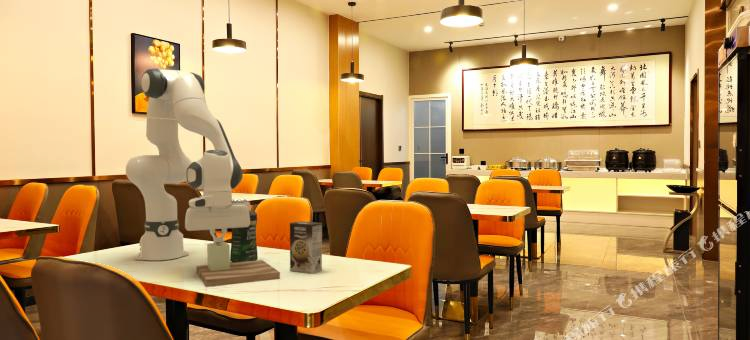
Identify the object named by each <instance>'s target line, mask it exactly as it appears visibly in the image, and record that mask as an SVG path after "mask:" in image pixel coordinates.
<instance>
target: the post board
mask: <svg viewBox="0 0 750 340" xmlns="http://www.w3.org/2000/svg"><path fill="white" fill-rule="evenodd" d="M195 267H196V268H195V271H196V274H197V275H198V276H199V278H200V280H201V281H202V282H203V284H204V285H205V287H206V288H207V287H215V286H216V285H217V286H224V285H225V286H226V285H234V284H242V283H254V282H259V281H260V282H261V281H270V280H279V279H280V278H281V272H280V271H279V270H278V269H276V268H274V267H273V266H272V265H270V264H268V263H267V262H266V261H265V260H263V259H259V260H258V259H257V260H256V261H245V262H235V263H233V262H230V269H226V270H216V271H210V270H209V269H208V264H204V265H203V264H202V265H196V266H195Z"/></svg>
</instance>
